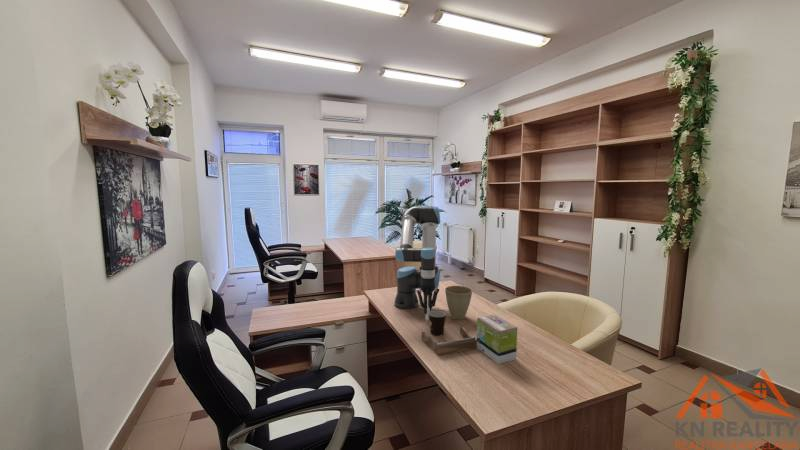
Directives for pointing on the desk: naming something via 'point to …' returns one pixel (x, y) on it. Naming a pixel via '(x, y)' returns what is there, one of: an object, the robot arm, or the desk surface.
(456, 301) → the plant pot
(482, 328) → the tea box
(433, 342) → the organizer
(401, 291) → the robot arm
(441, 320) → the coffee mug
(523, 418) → the desk surface
